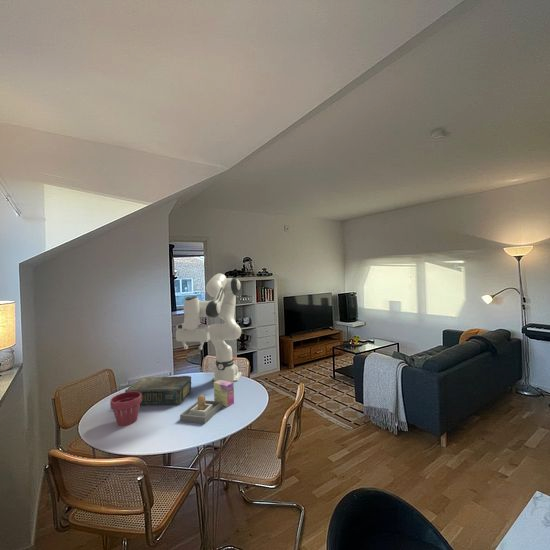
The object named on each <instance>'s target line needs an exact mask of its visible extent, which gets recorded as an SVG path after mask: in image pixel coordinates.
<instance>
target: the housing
mask: <svg viewBox="0 0 550 550" xmlns="http://www.w3.org/2000/svg"><path fill="white" fill-rule="evenodd" d="M205 404H206V409H205V410H198V401H197V400H196V402H194V404H192V405H191V406H189V407H188V408H187V409H185V410H184V411H183V412H182V413H181V414H179V418H180V419H179V421H180V422H186V423H195V424H203V425H204V424H205V425H206V424H207V423H208V421H210V419H212V418H213V416H215V415H216V414H217V413H218V412H219V411H220V410H221V409H222V407H223V405H222V402H218V401H214V400H206V399H205Z"/></svg>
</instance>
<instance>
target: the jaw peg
mask: <svg viewBox="0 0 550 550" xmlns="http://www.w3.org/2000/svg"><path fill="white" fill-rule="evenodd" d="M196 399H197V400H196V402H197V401H198V410H205V409H206V404H205V400H206V396H205V395H204V394H201V395H198V396H197V397H196Z"/></svg>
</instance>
